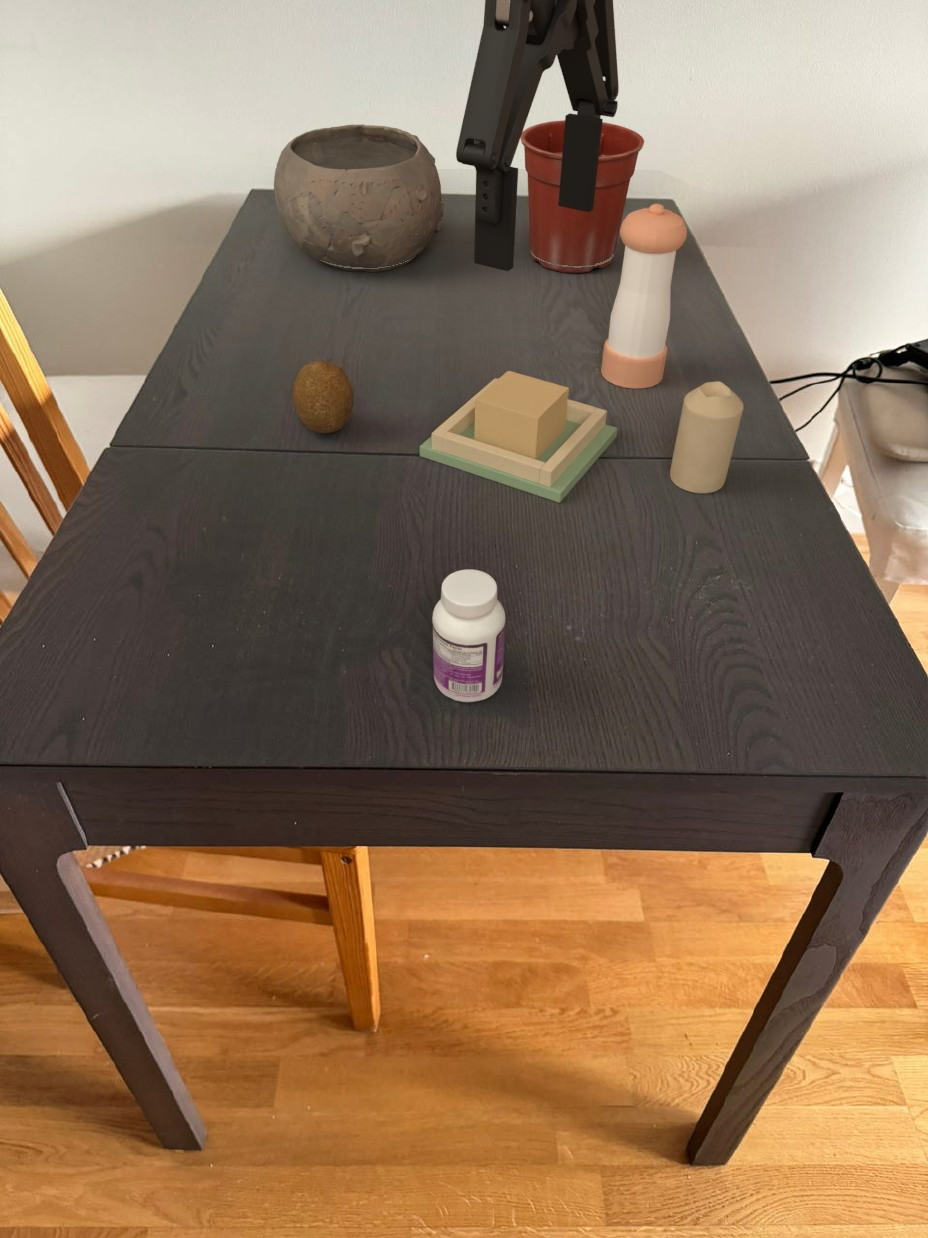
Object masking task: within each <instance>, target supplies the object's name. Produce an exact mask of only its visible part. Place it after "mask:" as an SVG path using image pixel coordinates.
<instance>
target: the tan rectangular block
mask: <svg viewBox="0 0 928 1238" xmlns="http://www.w3.org/2000/svg"><path fill="white" fill-rule="evenodd" d="M497 379H498V380H497V381H496V382H495V383H493V384H492V385H491V386H490V387H489V388H488V389H487V390H485V391H484V392H483V393H482V394H481V395H480V396H479V397H477V398H476V399H475V430H474V440H476V441H479V442H483V443H486V444H489V445H492V446H495V447H498V448H501V449H504V450H508V451H511V452H514V453H517V454H520V455H523V456H526V457H529V458H533V459H536V460H537V459H538V458H539V457H540V456H541V455H542V454H543V453H544V452H545V451H546V450H547V449H548V448H549V447H550V445H551V444H552V443H553V442H554V441H555V440H556V439H557V438H558V437H559V436H560V435H561V434H562V433H563V432H564V431H565V422H566V412H567V402H568V399H569V392H570V391H569V390H570V388H569V387H567V386H564V385H560V384H557V383H554V382H550V381H547V380H543V379H540V378H537V377H533V376H529V375H526V374H522V373H519V372H515V371H511V370H507V371H505V373H503V375H501V376H500V377H499V378H497Z"/></svg>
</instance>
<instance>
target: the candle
mask: <svg viewBox="0 0 928 1238" xmlns="http://www.w3.org/2000/svg"><path fill="white" fill-rule="evenodd" d="M743 412H744V403H743V401H742V399H741V398H740V397H739V396H738V395H737V394H736V393H735V392H734V391H733V390H732V389H731V388H730V387H729V386H727V385H726V384H724V383H723V382H722V381H708V382H704V383H703V384H701V385H700V386H698V387H696V388H694V389H693V390H690V391H689V392H688V393H687V394H686V395H685V396H684V399H683V403H682V408H681V413H680V418H679V423H678V428H677V433H676V439H675V443H674V448H673V454H672V459H671V464H670V470H669V478H670V480H671V482H672V483H673V484H674V485H675V486H677V487H678V488H679V489H682V490H683V491H687V492H689V493H695V494H709V493H715V492H717V491H719V490H720V489H721V488H723V486H724V485H725V482H726V479H727V476H728V471H729V467H730V463H731V460H732V456H733V452H734V448H735V443H736V439H737V435H738V431H739V428H740V423H741V419H742V415H743Z"/></svg>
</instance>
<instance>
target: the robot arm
mask: <svg viewBox="0 0 928 1238" xmlns="http://www.w3.org/2000/svg"><path fill="white" fill-rule="evenodd" d="M614 11H615V10H614V0H484V13H483V26H482V31H481V36H480V39H479V43H478V49H477V53H476V59H475V63H474V68H473V72H472V77H471V82H470V86H469V90H468V95H467V100H466V104H465V108H464V109H465V110H464V114H463V119H462V123H461V127H460V132H459V136H458V137H459V138H458V141H457V146H456V150H455V151H456V152H455V158H456V161H457V162H458V163H460V164H462V165H468V166H471V167H474V169H475V204H474V205H475V207H474V208H475V209H474V246H473V247H474V249H473V251H474V255H473V263H474V264H477V265H481V266H485V267H487V268H488V267H489V268H492V269H496V270H501V271H505V272H510V271H511V270H512V269H514V258H515V240H516V224H517V223H516V222H517V221H516V220H517V200H518V183H519V182H518V181H519V167H514V166H512V164H513V161H514V159H515V155H516V152H517V149H518V146H519V144H520V141H521V138H520V137H521V135H522V132H523V131H524V130H525V125H526V123H527V120H528V117H529V114H530V112H531V108H532V105H533V102H534V99H535V96H536V94H537V91H538V88H539V86H540V81H541V80H542V76H543V73H544V72H545V71H546V70H549V69H550V68H551V67H553V65H554V63H555V60H556V58H557V60H558V61H557V62H558V64H559V68H560V71H561V75H562V77H563V82H564V84H565V88H566V92H567V94H568V98H569V103H570V106H571V109H572V111H573V112H576V113H567V114H566V115H565V116H564V120H565V128H564V140H563V153H562V165H561V177H560V190H559V202H558V206H561V207H566V208H571V209H576V210H581V211H585V212H590V211H592V210H593V206H594V197H595V187H596V178H597V169H598V159H599V150H600V140H601V131H602V122H603V120H604V119H603V118H602V116H603V117H609V118H614V117H615V116H616V114H617V111H618V105H619V104H618V102H619V101H617V100H616V99H617V98H618V96H619V88H620V87H619V85H620V84H619V72H618V71H619V70H618V56H617V39H616V25H615V12H614Z"/></svg>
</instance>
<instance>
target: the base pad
mask: <svg viewBox="0 0 928 1238" xmlns="http://www.w3.org/2000/svg"><path fill="white" fill-rule="evenodd" d="M498 379H499V378H496V377H494V378H493V379H492V380H491V381H490V382H488V383H487V384H486V385H485V386H484V387H483V388H481V390H479V391H478V392H477V393H476V394H475V395H474V396H472V397H471V398H470V399H469V400H468V401H467V402H465V404H463V405H462V406H461V407H460V408H459V409H457V411H455V412H454V413H453V414H452V415H451V416H449V418H447V419H446V420H444V422H443V423H441V424H440V425H439V426H438V427H437V428H435V430H434V431H432V432H431V436H430V437H429V438H427V439H426V440H425V441H423V443H422V444H421V445H419V457H422V458H424V459H426V460H427V459H428V460H431V461H434V462H437V463H439V464H442V465H445V466H448V467H451V468H454V469H457V470H460V471H463V472H466V473H469V474H472V475H475V476H478V477H481V478H484V479H487V480H490V481H493V482H496V483H499V484H501V485H505V486H508V487H511V488H514V489H517V490H520V491H522V492H526V493H528V494H531V495H535V496H538V497H541V498H544V499H547V500H550V501H552V502H556V503H561V502H562V501H563V500H564V499H565V498H566V496H567V495H568V494H569V493H570V492H571V490H572V489H573V488H574V487H575V486H576V485H577V484H578V482H579V481H580V480H581V479H582V478H583V477H584V475H585V474H586V473H587V472H588V471H589V470H590V468H592V466H593V465H594V464H595V463H596V461H598V459H599V458H600V457H601V456H602V455H603V454H604V452H605V451H606V450H607V449H608V448H609V446H611V444H612V443H613V442H614V441H615V440H616V438H617V436H618V430H619V429H618V427H616V426H613V425H610V424H607V416H608V410H606V409H603V408H599V407H596V406H594V405H590V404H586V403H583V402H579V401H576V400H573V399H569V398H568V402H567V412H566V422H565V431H564V432H563V433H562V434H561V435H560V436H559V437H558V438H557V439H556V440H555V441H554V442H553V443H552V444H551V445H550V447H549V448H548V449H547V450H546V451H545V452H544V453H543V454H542V455H541V456H540V457H539V458H538V459H537V460H536V459H533V458H529V457H526V456H523V455H520V454H517V453H514V452H511V451H508V450H504V449H501V448H498V447H495V446H492V445H489V444H486V443H483V442H479V441H476V440H474V430H475V399H476V398H477V397H479V396H480V395H481V394H482V393H483V392H484V391H485V390H487V389H488V388H489V387H490V386H491V385H492V384H493V383H495V382H496V381H497V380H498Z"/></svg>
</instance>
